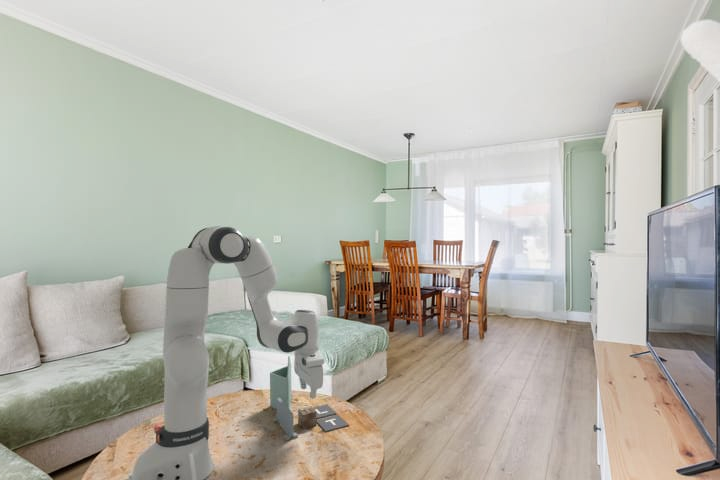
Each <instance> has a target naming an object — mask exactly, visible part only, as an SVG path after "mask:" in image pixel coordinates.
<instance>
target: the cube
mask: <svg viewBox="0 0 720 480" xmlns="http://www.w3.org/2000/svg"><path fill="white" fill-rule="evenodd" d="M297 413H298V414H297V415H298V416H297V418H298V420H297V421H298V425H299V424H300V425H299V426H300V427H301V428H302V430H305V429H309V428H311V427H312V428H313V427H316V426H317V422H316V420H317V419H316V411H315V410H314V409H313V407H312V406H308V407H303V408H299V409H297Z"/></svg>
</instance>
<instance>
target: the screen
mask: <svg viewBox="0 0 720 480" xmlns="http://www.w3.org/2000/svg"><path fill="white" fill-rule="evenodd" d="M276 401H277V410H276V417H273V418H272V422H273V423H274V424H275V422H276V423H278V424H279V423H280V424H279V426H281V428H282V430H283V431H284V433H285V434H284V435H283V437H284V438H283V439H285V441H290V440H293V439H297V438H299V437H298V436H299V435H298V433H297V432H295V431H294V427H295V426H294V424H295V423H294V413H293V412H292V411H291V408H290V409H289V408H288V407H287V406H286V405H285V403H284V402H283V401H282V400H281V398H280V397H278V398H276Z"/></svg>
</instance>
